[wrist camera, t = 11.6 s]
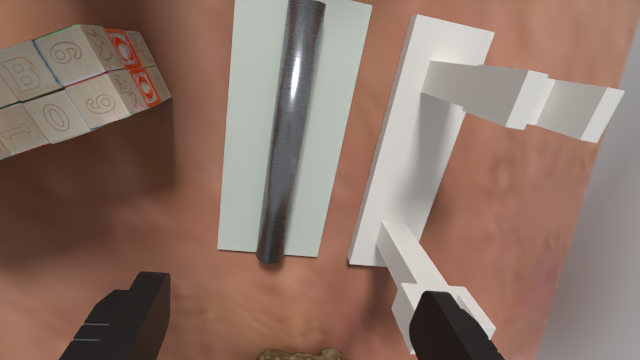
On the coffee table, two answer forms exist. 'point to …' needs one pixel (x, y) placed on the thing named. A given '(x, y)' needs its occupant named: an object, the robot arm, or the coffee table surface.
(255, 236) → the mat
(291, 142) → the rail
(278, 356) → the rough brown rock
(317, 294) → the coffee table surface
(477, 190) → the coffee table surface
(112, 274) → the coffee table surface
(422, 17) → the rack
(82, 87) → the stack of blocks
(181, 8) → the coffee table surface
